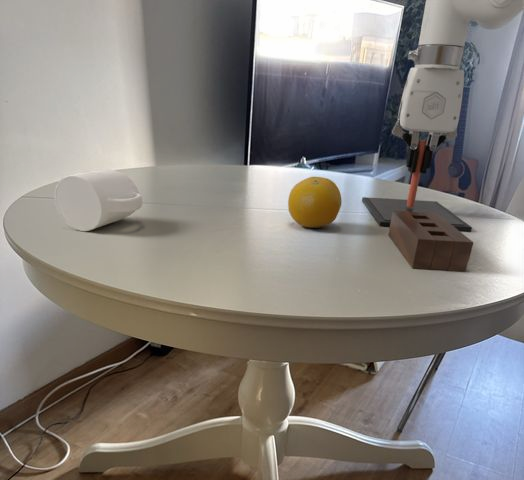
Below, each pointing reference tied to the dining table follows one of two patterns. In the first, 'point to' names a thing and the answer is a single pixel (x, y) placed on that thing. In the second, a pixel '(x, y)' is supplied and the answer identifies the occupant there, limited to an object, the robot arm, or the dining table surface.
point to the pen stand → (429, 241)
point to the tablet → (385, 207)
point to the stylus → (416, 174)
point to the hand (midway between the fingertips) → (416, 171)
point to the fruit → (314, 202)
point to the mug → (96, 198)
